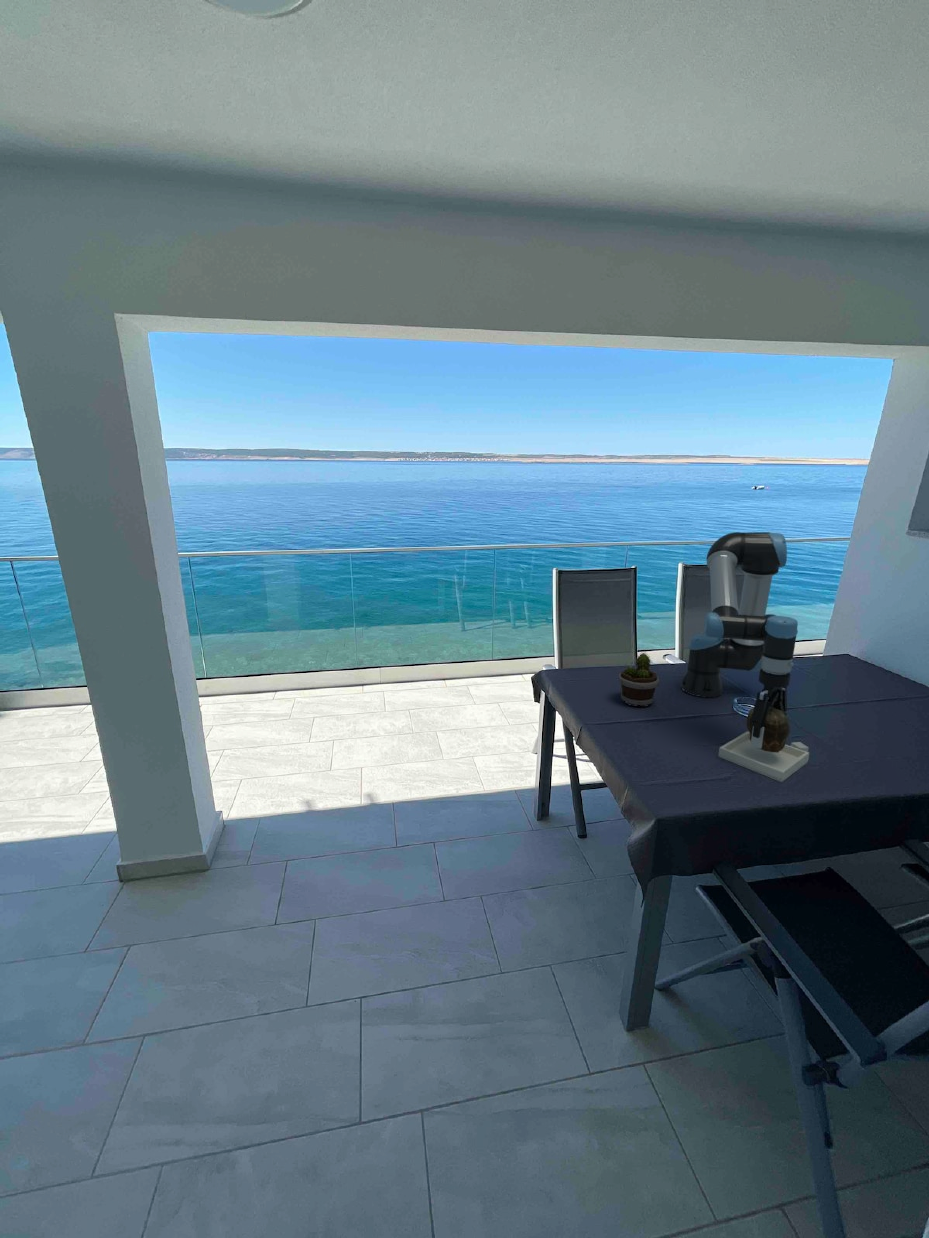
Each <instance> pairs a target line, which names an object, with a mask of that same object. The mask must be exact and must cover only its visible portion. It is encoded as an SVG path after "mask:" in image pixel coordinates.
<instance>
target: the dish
mask: <svg viewBox="0 0 929 1238" xmlns="http://www.w3.org/2000/svg"><path fill="white" fill-rule="evenodd" d="M717 756H718V758H720V759H722V760H726V761H728V762H730V763H733V764H735V765H738V766H740V767H743V768H745V769H747V770H750V771H753V772H756V773H757V774H760V775H763V776H765V777H768V778H770V779H772V780H775V781H777V782H780V783H784V781H785V780H787V779H788V778H790V777H791V776H792V775H793V774H794V773H796V772H797V771H798V770H800V769H801V768H802V767H803V766H805V765H806V764H808V762H809V757H810V752H809V751H808V752H806V751H803V750H800V749H797V748H794V747H791V745H788V744H785V746H784V748H783V749H782V750H781V751H779V753H776V752H769V751H764V750H761V749H758V748H757V747H754V746H751V741H750V732H749V730H746V731H745V732H744V733H742V734H740V735H738V736H737V737H736V738H734V739H732V740H731V741H728V742H727V743H725V744H723V745H721V746H719V748H718V755H717Z"/></svg>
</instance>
